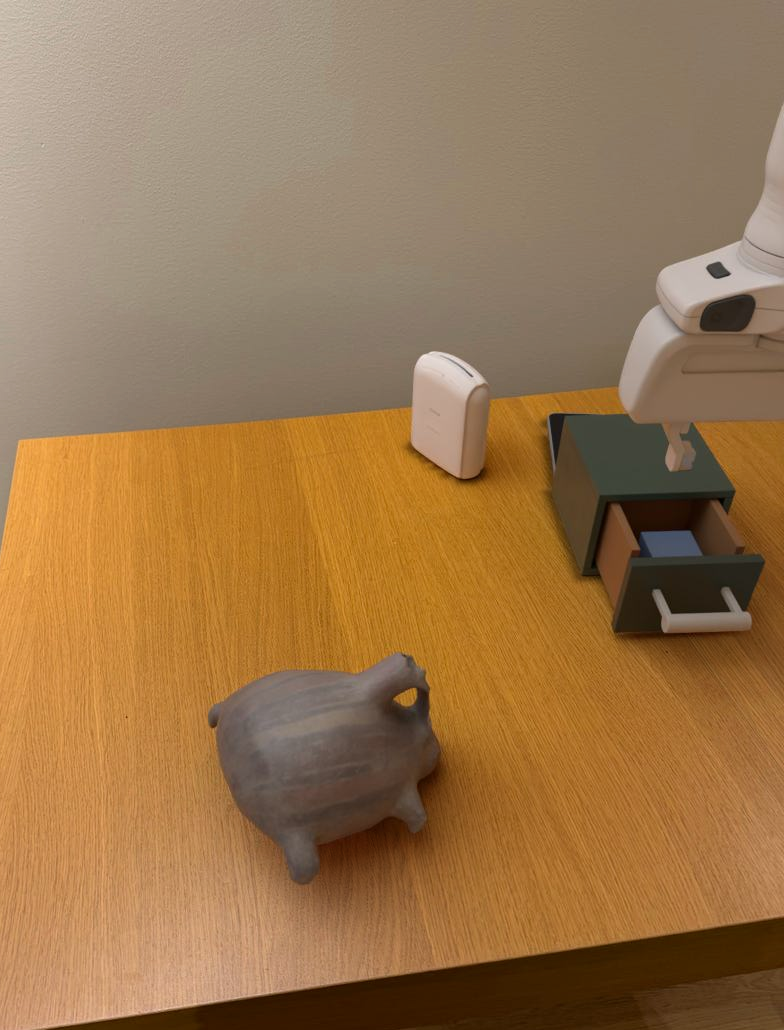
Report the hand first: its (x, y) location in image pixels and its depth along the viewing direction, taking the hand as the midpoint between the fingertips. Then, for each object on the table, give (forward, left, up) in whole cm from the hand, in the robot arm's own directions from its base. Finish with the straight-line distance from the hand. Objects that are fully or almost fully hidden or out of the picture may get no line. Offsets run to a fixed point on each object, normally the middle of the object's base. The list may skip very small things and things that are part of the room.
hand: (739, 466), depth 70 cm
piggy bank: (+32, +16, -20) cm, 40 cm away
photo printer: (+17, -33, -20) cm, 42 cm away
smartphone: (+1, -33, -20) cm, 39 cm away
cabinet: (0, -18, -20) cm, 27 cm away
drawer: (0, -6, -19) cm, 19 cm away
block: (0, -7, -18) cm, 19 cm away
